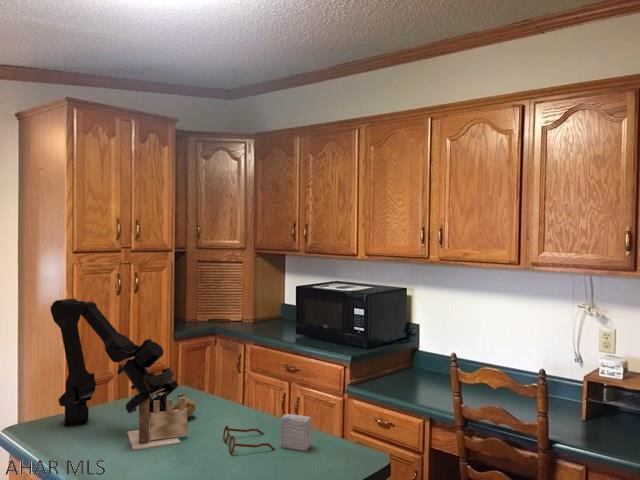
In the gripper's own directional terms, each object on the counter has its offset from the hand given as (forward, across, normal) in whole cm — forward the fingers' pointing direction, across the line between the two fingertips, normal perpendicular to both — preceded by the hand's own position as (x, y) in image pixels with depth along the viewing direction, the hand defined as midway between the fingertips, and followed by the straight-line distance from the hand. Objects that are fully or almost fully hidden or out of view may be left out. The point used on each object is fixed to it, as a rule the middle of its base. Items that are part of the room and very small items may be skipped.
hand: (168, 419), depth 163 cm
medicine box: (+30, +9, -23) cm, 39 cm away
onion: (0, +16, +8) cm, 18 cm away
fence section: (+4, -1, +3) cm, 5 cm away
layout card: (+1, -1, +7) cm, 7 cm away
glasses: (+21, +6, -13) cm, 25 cm away
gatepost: (+1, -6, +7) cm, 9 cm away
